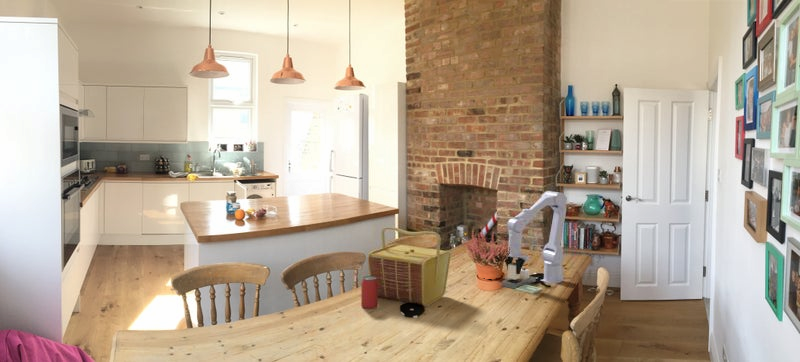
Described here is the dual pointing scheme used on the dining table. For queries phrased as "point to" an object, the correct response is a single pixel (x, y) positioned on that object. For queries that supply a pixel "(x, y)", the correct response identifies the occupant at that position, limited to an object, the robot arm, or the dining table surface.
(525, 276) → the pull-out knob drawer
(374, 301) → the beer can
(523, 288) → the tray
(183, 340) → the dining table surface
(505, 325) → the dining table surface
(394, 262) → the picnic basket
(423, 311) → the dining table surface
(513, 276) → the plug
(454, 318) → the dining table surface
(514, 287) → the small drawer cabinet
